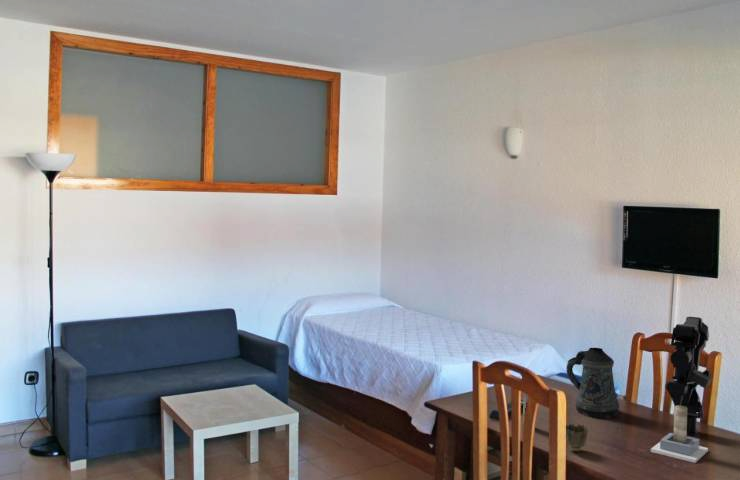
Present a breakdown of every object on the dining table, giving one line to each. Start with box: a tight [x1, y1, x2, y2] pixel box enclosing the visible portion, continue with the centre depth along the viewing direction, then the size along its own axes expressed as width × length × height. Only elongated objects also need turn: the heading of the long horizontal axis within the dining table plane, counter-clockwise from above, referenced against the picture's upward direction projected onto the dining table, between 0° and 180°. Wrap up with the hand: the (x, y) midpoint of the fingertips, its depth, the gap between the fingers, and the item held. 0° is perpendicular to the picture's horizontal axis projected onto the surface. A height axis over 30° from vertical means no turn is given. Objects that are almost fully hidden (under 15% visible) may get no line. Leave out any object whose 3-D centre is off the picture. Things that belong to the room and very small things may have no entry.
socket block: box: [650, 432, 709, 464], centre depth 231 cm, size 14×14×4 cm
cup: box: [565, 423, 589, 453], centre depth 231 cm, size 8×7×8 cm
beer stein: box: [565, 347, 620, 419], centre depth 272 cm, size 16×19×25 cm
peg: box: [672, 405, 688, 444], centre depth 231 cm, size 4×4×14 cm
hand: (682, 406), depth 238 cm, fingers open, 9 cm apart
